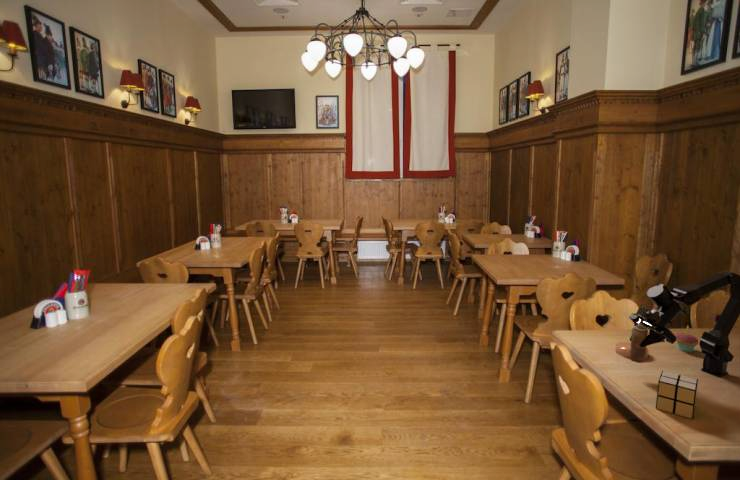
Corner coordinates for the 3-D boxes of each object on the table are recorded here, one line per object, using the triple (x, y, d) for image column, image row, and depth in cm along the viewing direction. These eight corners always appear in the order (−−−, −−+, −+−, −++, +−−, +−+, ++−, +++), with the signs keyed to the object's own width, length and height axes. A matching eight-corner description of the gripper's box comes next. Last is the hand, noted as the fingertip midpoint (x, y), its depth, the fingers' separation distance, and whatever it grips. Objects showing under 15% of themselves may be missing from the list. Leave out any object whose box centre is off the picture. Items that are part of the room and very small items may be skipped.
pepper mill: (648, 361, 164) (651, 324, 161) (638, 363, 162) (641, 326, 160) (636, 356, 168) (639, 320, 166) (626, 358, 167) (629, 322, 164)
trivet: (654, 357, 184) (655, 350, 183) (635, 362, 179) (635, 355, 179) (627, 346, 195) (628, 340, 194) (608, 351, 190) (609, 344, 190)
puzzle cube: (659, 396, 152) (662, 370, 150) (694, 406, 145) (698, 378, 144) (655, 409, 144) (658, 380, 142) (692, 419, 138) (696, 390, 136)
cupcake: (697, 355, 184) (700, 328, 183) (672, 350, 190) (675, 324, 188) (697, 348, 191) (700, 322, 189) (674, 344, 196) (676, 318, 194)
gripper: (635, 293, 171) (606, 321, 172) (672, 308, 153) (639, 339, 153) (652, 311, 173) (623, 339, 174) (690, 328, 155) (658, 359, 155)
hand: (635, 343), depth 164 cm, fingers closed on pepper mill, 5 cm apart
